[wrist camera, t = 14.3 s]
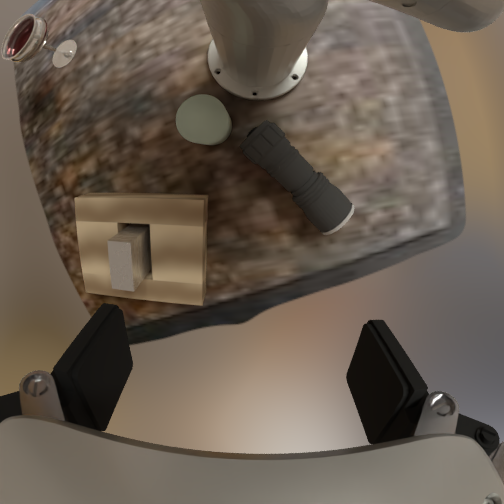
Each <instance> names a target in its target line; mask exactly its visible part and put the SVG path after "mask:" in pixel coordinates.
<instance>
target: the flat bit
mask: <svg viewBox="0 0 504 504" xmlns="http://www.w3.org/2000/svg"><path fill="white" fill-rule="evenodd" d="M107 243H108V256H109V266H110V276H111V285H112V289H119V290H126V291H133V292H134V291H135V290H136V289H137V287H138V286H139V284H140V283H141V282H142V280H143V279H144V278H145V276H146V275H147V274H148V272H149V271H150V270H151V268H152V261H151V241H150V224H139V223H132V224H130V225H129V226H127V227H126V228H124V229H123V230H122V231H120V232H119V233H117V234H116V235H115V236H113V237H112V238H110V239H109V240H108V241H107Z"/></svg>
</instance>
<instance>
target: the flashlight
mask: <svg viewBox="0 0 504 504" xmlns="http://www.w3.org/2000/svg"><path fill="white" fill-rule="evenodd" d="M240 148H241V149H242V150H243V154H244V155H245V156H246V157H247V158H248V159H250V160H251V161H252V162H253V163H254V164H258V165H260V166H261V167H262V168H263V169H264V168H265V169H266V170H267V173H270V175H271V176H272V177H274V178H275V179H276V180H277V181H278V182H279V183H280V184H281V185H282V186H283V187H284V188H285V189H286V190H287V191H291V193H292V194H293V201H294V202H296V204H297V205H299V207H300V208H302V209H303V211H304V213H305V214H306V216H307V218H308V219H309V220H310V221H311V222H312V223H313V224H314V225H315V226H316V227H317V228H318V229H319V230H320V232H321V233H322V234H323V235H329V234H332V233H334V232H336V231H337V230H339V229H340V228H341V227H342V226H343V225H344V224H345V223H346V222H347V221H348V220H349V219H350V217H351V216H352V214H353V212H354V206H353V204H352V203H351V202H350V201H349V200H348V199H347V197H346V196H345V195H344V194H343V193H342V192H341V191H340V189H338V188H337V187H336V186H334V185H333V184H331V183H330V182H329V180H328V179H326V177H325V176H323V173H321V172H318V173H316V172H315V171H312V170H313V167H312V166H311V165H310V164H309V163H308V162H307V161H306V160H305V159H304V158H303V157H302V156H301V155H300V154H299V152H298V150H296V149H295V147H293V146H291V145H290V142H289V141H288V140H287V139H286V138H285V133H284V132H283V131H282V130H281V129H280V128H279V127H278V126H277V125H276V124H275V123H270V122H269V121H267V120H266V121H264V122H263V123H262V124H261V125H260V126H259V127H255V128H254V129H252V130H251V131H250V132H249V134H248V135H247V139H246V140H245V141H244V142H243V143H242V144H241V145H240Z"/></svg>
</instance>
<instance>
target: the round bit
mask: <svg viewBox="0 0 504 504" xmlns="http://www.w3.org/2000/svg"><path fill="white" fill-rule="evenodd" d="M176 126H177V129H178V131H179V133H180V134H181V136H182V137H184V138H185V139H186V140H188V141H190V142H193V143H199V144H205V145H217V144H220V143H222V142H224V141H225V140H226V139H227V138H228V137H229V135H230V133H231V131H232V121H231V118H230V116H229V114H228V113H227V111H226V109H225V107H224V105H223V104H222V103H221V101H219V100H218V99H217V98H215V97H213V96H211V95H207V94H199V95H195V96H192V97H190V98H188V99H187V100H185V101H184V102H183V103H182V104H181V106H180V107H179V109H178V111H177V114H176Z"/></svg>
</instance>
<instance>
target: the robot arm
mask: <svg viewBox="0 0 504 504" xmlns="http://www.w3.org/2000/svg"><path fill="white" fill-rule="evenodd" d="M369 1H372V2H375V3H378V4H381V5H384V6H387V7H390V8H392V9H395V10H398V11H400V12H403V13H405V14H408V15H411V16H413V17H416V18H418V19H420V20H423V21H425V22H428V23H430V24H433V25H435V26H437V27H440V28H443V29H447V30H451V31H456V32H473V31H478V30H480V29H483V28H485V27H487V26H488V25H490V24H492V23H493V22H494V21H495V20H496V19H497V18H498V17H499V16H500V15H501V13H502V12H503V11H504V0H369ZM200 3H201V5H202V8H203V11H204V14H205V17H206V20H207V23H208V26H209V29H210V32H211V34H212V37H213V39H212V41H211V43H210V45H209V49H208V64H209V69H210V71H211V73H212V75H213V77H214V78H215V80H216V81H217V83H218V84H219V85H220V86H221V87H222V88H224V89H225V90H226V91H228V92H229V93H231V94H233V95H235V96H237V97H241V98H244V99H249V100H268V99H273V98H276V97H279V96H281V95H284V94H286V93H287V92H289V91H290V90H292V89H293V88H294V87H295V86H296V85H297V84H298V83H299V82H300V80H301V79H302V77H303V75H304V73H305V71H306V68H307V64H308V54H307V48H306V46H307V44H308V42H309V41H310V39H311V37H312V36H313V34H314V32H315V31H316V29H317V27H318V25H319V24H320V22H321V20H322V19H323V17H324V15H325V12H326V9H327V5H328V0H200ZM217 72H220V74H216V73H217ZM292 77H295V78H296V80H293V79H292ZM253 93H256V94H257V95H256V96H253ZM132 367H133V361H132V356H131V352H130V347H129V342H128V338H127V332H126V327H125V322H124V316H123V311H122V310H121V309H119V307H118V306H117V305H113V304H106V303H104V304H102V305H101V307H100V308H99V309H98V310H97V311H96V313H95V314H94V315H93V316H92V318H91V319H90V320H89V322H88V323H87V324H86V325H85V326H84V328H83V329H82V330H81V332H80V333H79V334H78V335H77V337H76V338H75V340H74V341H73V342H72V343H71V345H70V346H69V347H68V349H67V350H66V351H65V353H64V354H63V355H62V357H61V358H60V360H59V361H58V362H57V364H56V365H55V366H54V368H53V369H54V370H53V371H52V373H51V374H49V373H48V372H46V371H33V372H30V373H28V374H27V375H25V377H23V378H22V380H21V382H20V384H19V391H17V392H14V393H11V394H7V395H4V396H0V504H504V442H502V443H501V444H500V443H499V436H498V433H497V432H496V430H495V429H494V428H493V427H491V426H489V425H487V424H484V423H482V422H479V421H477V420H474V419H472V418H469V417H467V416H464V415H461V414H459V405H458V403H457V401H456V400H455V399H454V397H452V396H451V395H450V394H448V393H446V392H442V391H435V392H432V393H430V394H429V393H428V392H427V389H428V387H427V385H426V384H425V382H424V380H423V379H422V377H421V376H420V374H419V372H418V371H417V369H416V368H415V366H414V365H413V363H412V362H411V360H410V359H409V357H408V356H407V354H406V353H405V351H404V349H403V348H402V346H401V345H400V344H399V342H398V341H397V339H396V338H395V336H394V335H393V333H392V332H391V330H390V329H389V327H388V326H387V325H386V323H385V322H384V321H383V320H369V321H368V322H367V324H364V325H363V328H362V331H361V334H360V337H359V340H358V343H357V346H356V349H355V352H354V355H353V358H352V361H351V363H350V366H349V369H348V372H347V376H346V378H347V383H348V386H349V388H350V391H351V394H352V396H353V399H354V402H355V405H356V408H357V410H358V413H359V416H360V419H361V422H362V424H363V427H364V430H365V433H366V436H367V439H368V442H369V443H370V444H372V445H366V446H361V447H353V448H347V449H339V450H331V451H320V452H308V453H289V454H242V453H223V452H211V451H201V450H192V449H183V448H177V447H169V446H163V445H158V444H153V443H148V442H143V441H138V440H134V439H129V438H125V437H120V436H117V435H113V434H109V433H105V432H101V431H105V430H106V428H107V426H108V424H109V421H110V419H111V416H112V414H113V412H114V409H115V407H116V404H117V402H118V400H119V397H120V395H121V393H122V390H123V388H124V386H125V384H126V381H127V379H128V377H129V375H130V372H131V370H132Z"/></svg>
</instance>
